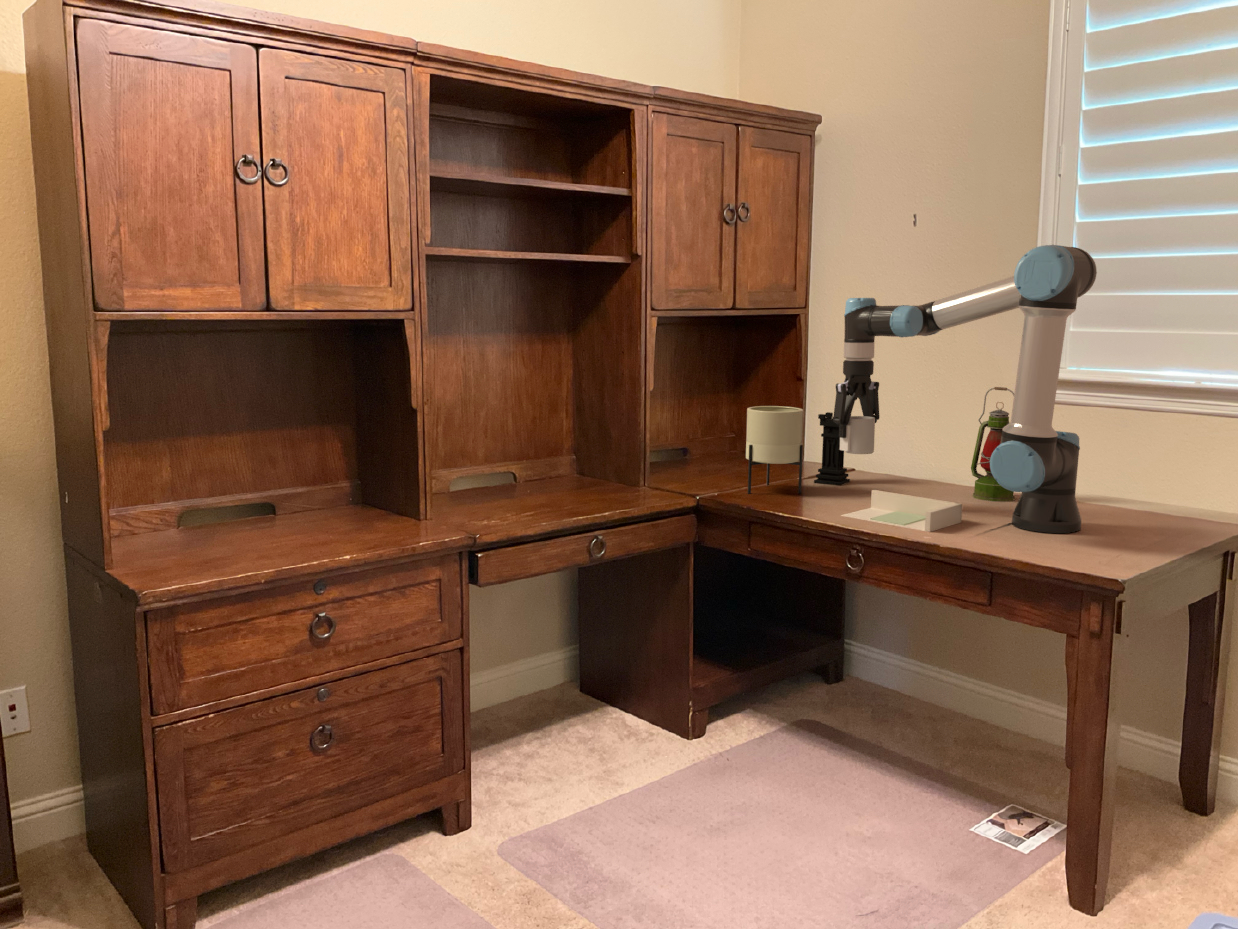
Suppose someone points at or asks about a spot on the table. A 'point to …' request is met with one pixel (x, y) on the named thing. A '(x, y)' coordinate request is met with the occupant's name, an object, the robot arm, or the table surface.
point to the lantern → (987, 484)
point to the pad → (899, 518)
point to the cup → (861, 434)
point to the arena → (911, 510)
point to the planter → (774, 438)
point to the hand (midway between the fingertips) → (855, 449)
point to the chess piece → (831, 454)
